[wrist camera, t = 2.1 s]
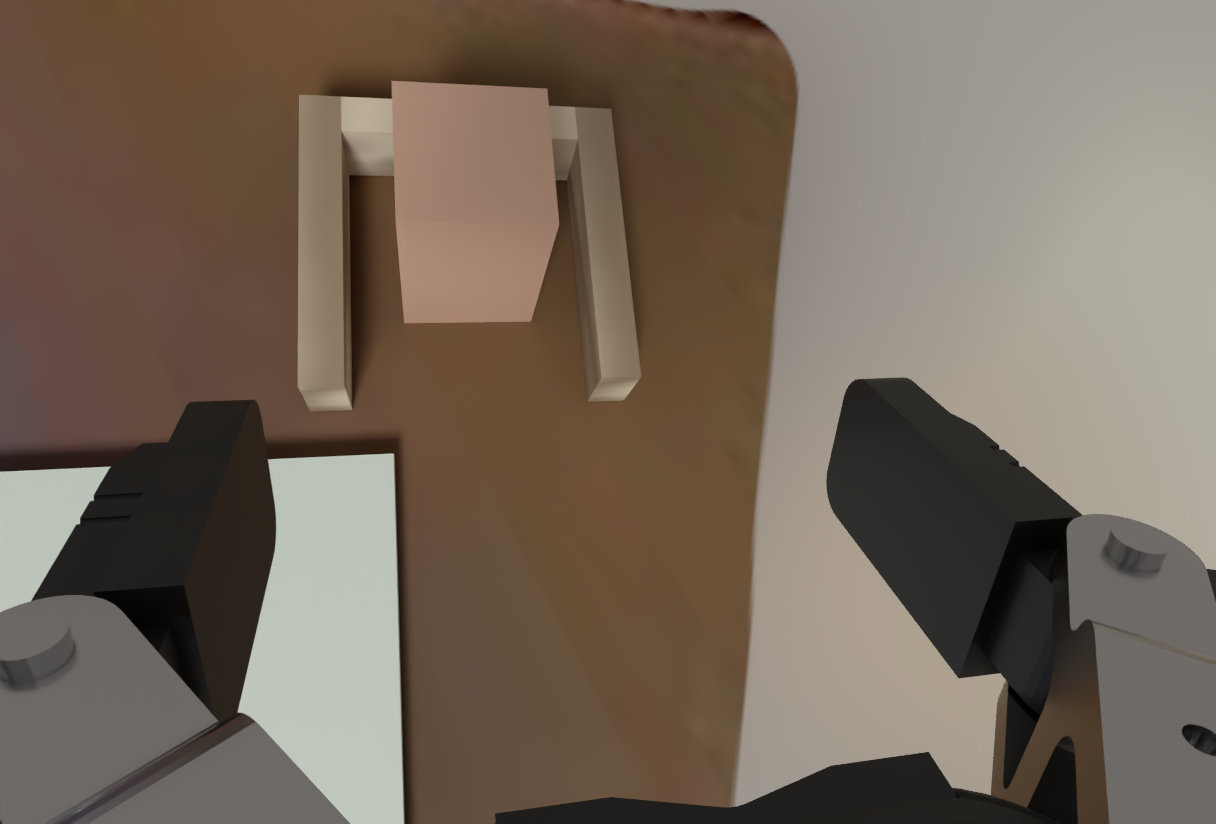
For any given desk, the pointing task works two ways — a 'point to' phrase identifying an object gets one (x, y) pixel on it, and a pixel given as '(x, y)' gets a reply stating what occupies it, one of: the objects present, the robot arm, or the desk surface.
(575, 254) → the maple bay
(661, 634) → the desk surface
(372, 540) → the sage mat
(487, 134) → the terracotta block
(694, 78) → the desk surface
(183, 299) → the desk surface
